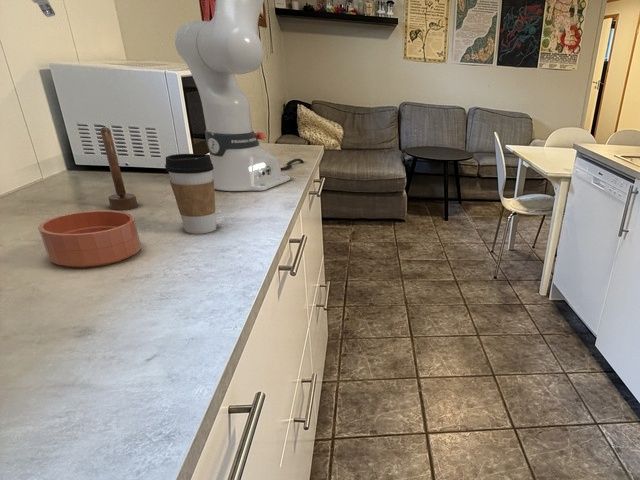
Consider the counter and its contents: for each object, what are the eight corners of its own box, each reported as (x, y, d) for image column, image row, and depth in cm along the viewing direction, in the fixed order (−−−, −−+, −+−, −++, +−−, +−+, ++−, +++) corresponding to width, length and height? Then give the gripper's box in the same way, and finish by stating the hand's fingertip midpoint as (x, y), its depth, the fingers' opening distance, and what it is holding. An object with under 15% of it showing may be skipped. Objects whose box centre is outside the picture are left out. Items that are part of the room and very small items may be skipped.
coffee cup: (205, 238, 93) (192, 161, 87) (168, 232, 95) (151, 156, 88) (231, 225, 101) (221, 153, 94) (196, 220, 102) (183, 149, 95)
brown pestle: (127, 202, 110) (108, 124, 102) (143, 206, 108) (124, 127, 100) (105, 207, 106) (83, 126, 98) (121, 211, 104) (99, 129, 96)
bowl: (110, 236, 91) (102, 206, 88) (158, 250, 86) (151, 219, 84) (32, 258, 80) (20, 224, 77) (82, 276, 75) (71, 240, 73)
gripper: (-9, -113, 74) (50, -13, 80) (26, -61, 91) (73, 18, 97) (-56, -105, 72) (9, -4, 78) (-11, -54, 89) (39, 26, 95)
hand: (44, 8), depth 88 cm, fingers open, 8 cm apart
